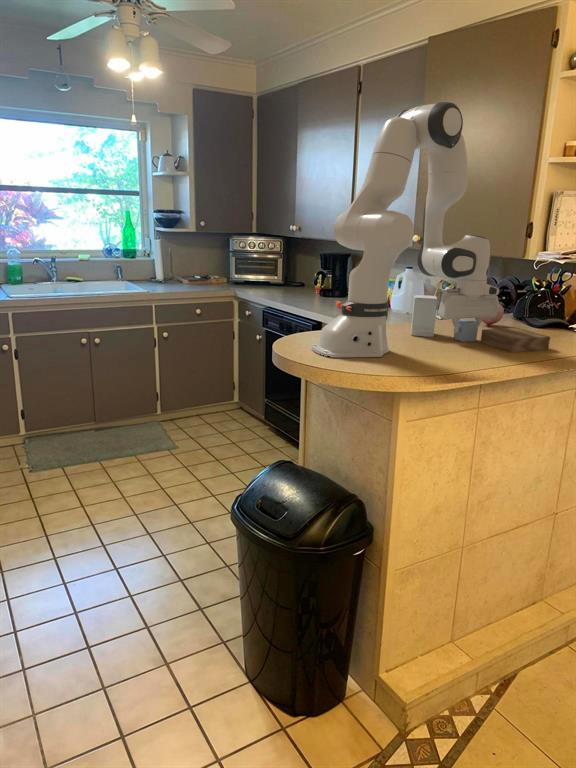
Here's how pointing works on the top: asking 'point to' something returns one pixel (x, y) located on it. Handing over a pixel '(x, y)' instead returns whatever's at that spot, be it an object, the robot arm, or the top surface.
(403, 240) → the robot arm
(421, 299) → the supplement box
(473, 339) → the slate block
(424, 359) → the top surface
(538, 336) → the walnut base
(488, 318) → the decorative fruit
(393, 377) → the top surface
